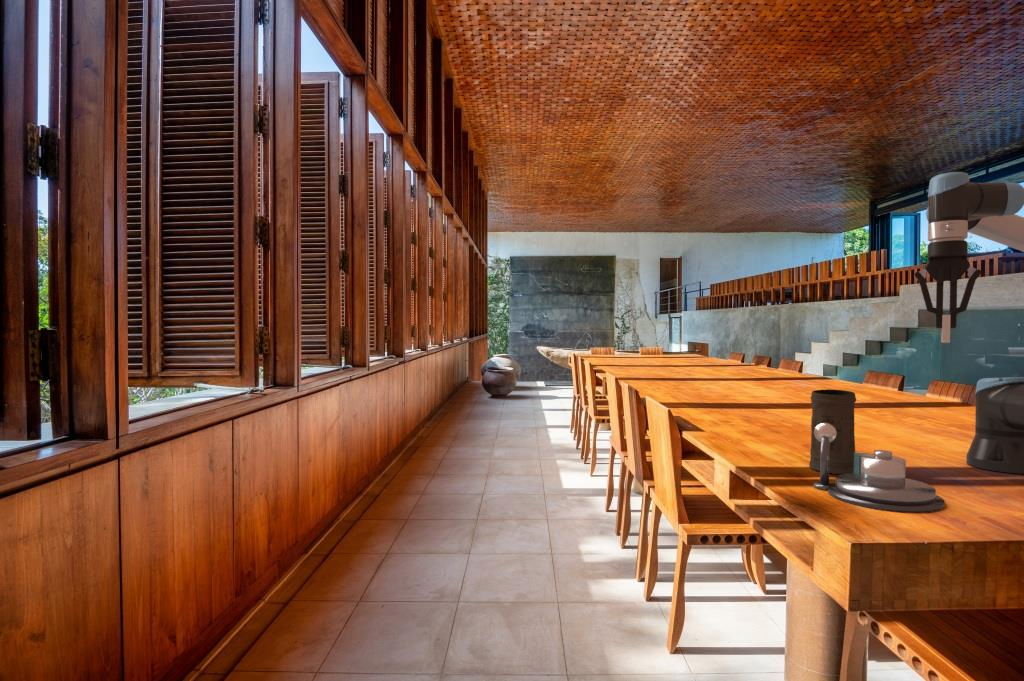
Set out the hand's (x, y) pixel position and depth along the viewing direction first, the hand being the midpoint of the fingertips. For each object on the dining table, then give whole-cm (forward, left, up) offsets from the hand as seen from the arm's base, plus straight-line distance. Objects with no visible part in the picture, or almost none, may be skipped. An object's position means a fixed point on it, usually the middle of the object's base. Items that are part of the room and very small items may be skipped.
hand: (945, 342), depth 140 cm
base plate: (+22, +15, -32) cm, 42 cm away
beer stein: (+20, -11, -33) cm, 40 cm away
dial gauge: (+31, +8, -32) cm, 46 cm away
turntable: (+22, +13, -31) cm, 41 cm away
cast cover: (+23, +16, -30) cm, 40 cm away
